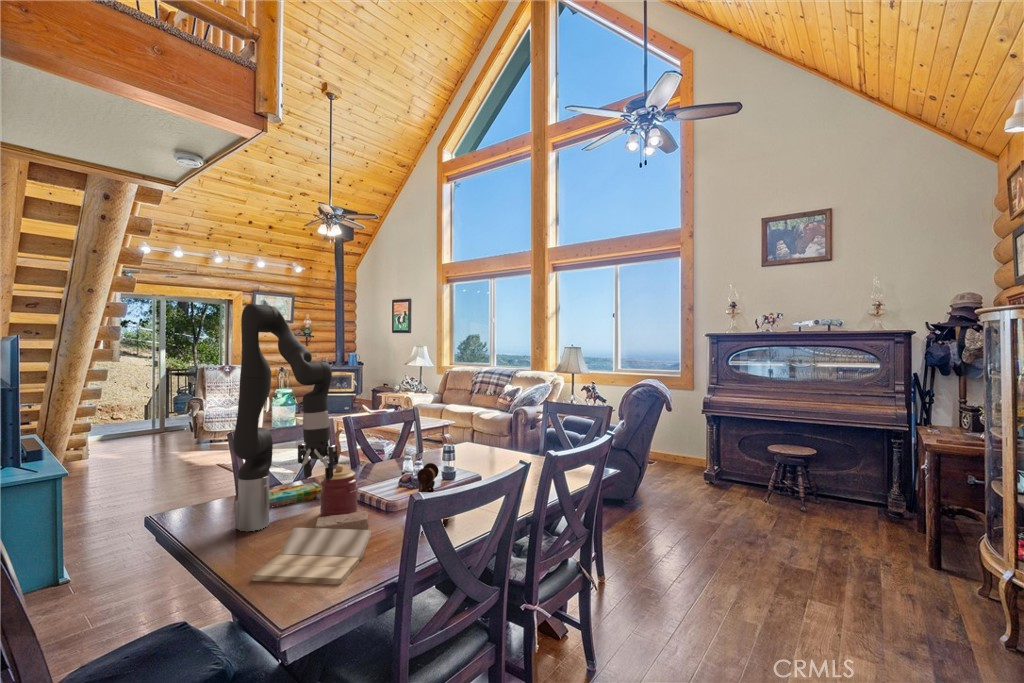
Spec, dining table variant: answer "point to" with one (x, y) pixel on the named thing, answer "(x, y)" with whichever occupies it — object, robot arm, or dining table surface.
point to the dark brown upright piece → (428, 479)
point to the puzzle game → (293, 494)
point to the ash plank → (326, 542)
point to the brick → (344, 521)
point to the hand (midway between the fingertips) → (318, 478)
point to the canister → (339, 493)
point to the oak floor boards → (307, 569)
